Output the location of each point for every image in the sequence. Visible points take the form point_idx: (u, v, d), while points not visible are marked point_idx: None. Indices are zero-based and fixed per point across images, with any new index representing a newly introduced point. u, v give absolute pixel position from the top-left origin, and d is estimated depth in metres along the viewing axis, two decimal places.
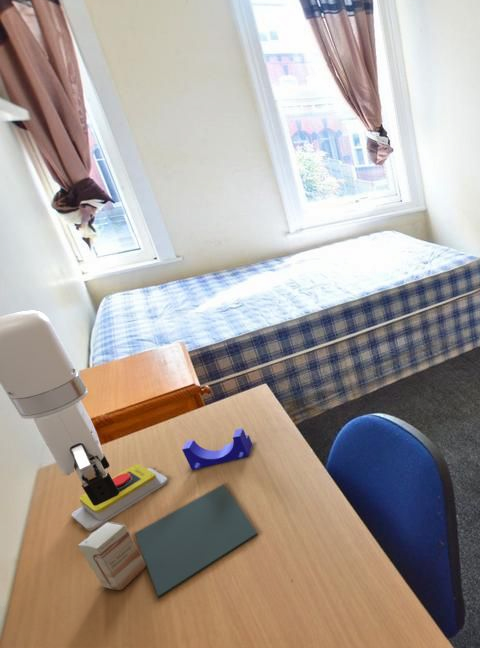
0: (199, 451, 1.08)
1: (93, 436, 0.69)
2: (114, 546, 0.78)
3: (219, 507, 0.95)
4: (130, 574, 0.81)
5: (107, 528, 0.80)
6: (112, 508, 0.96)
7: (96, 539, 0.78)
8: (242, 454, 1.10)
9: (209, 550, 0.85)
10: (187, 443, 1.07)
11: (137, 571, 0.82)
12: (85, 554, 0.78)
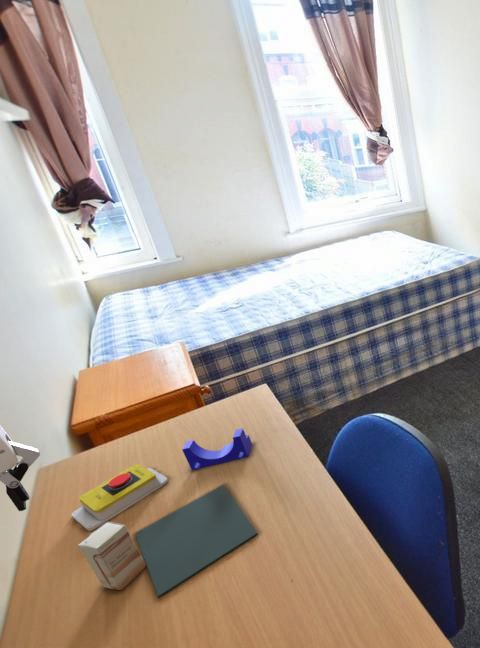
0: (199, 451, 1.08)
1: None
2: (114, 546, 0.78)
3: (219, 507, 0.95)
4: (130, 574, 0.81)
5: (107, 528, 0.80)
6: (112, 508, 0.96)
7: (96, 539, 0.78)
8: (242, 454, 1.10)
9: (209, 550, 0.85)
10: (187, 443, 1.07)
11: (137, 571, 0.82)
12: (85, 554, 0.78)
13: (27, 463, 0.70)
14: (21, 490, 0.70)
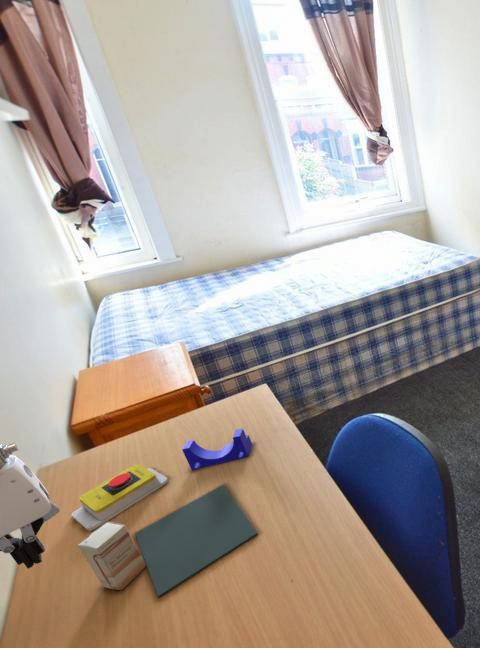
0: (199, 451, 1.08)
1: None
2: (114, 546, 0.78)
3: (219, 507, 0.95)
4: (130, 574, 0.81)
5: (107, 528, 0.80)
6: (112, 508, 0.96)
7: (96, 539, 0.78)
8: (242, 454, 1.10)
9: (209, 550, 0.85)
10: (187, 443, 1.07)
11: (137, 571, 0.82)
12: (85, 554, 0.78)
13: (44, 518, 0.72)
14: (37, 543, 0.72)
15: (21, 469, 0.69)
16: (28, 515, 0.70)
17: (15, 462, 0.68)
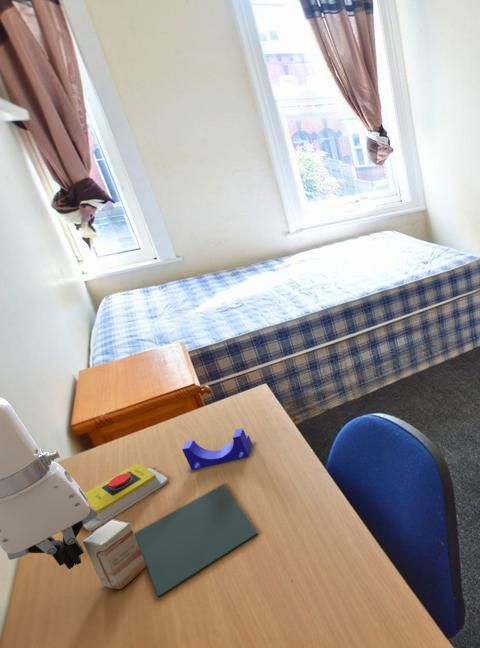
0: (199, 451, 1.08)
1: None
2: (117, 544, 0.79)
3: (219, 507, 0.95)
4: (130, 573, 0.81)
5: (112, 525, 0.80)
6: (112, 508, 0.96)
7: (101, 536, 0.78)
8: (242, 454, 1.10)
9: (209, 550, 0.85)
10: (187, 443, 1.07)
11: (137, 571, 0.82)
12: (88, 551, 0.78)
13: (83, 521, 0.76)
14: (76, 545, 0.76)
15: (63, 475, 0.72)
16: (69, 519, 0.73)
17: (57, 468, 0.72)
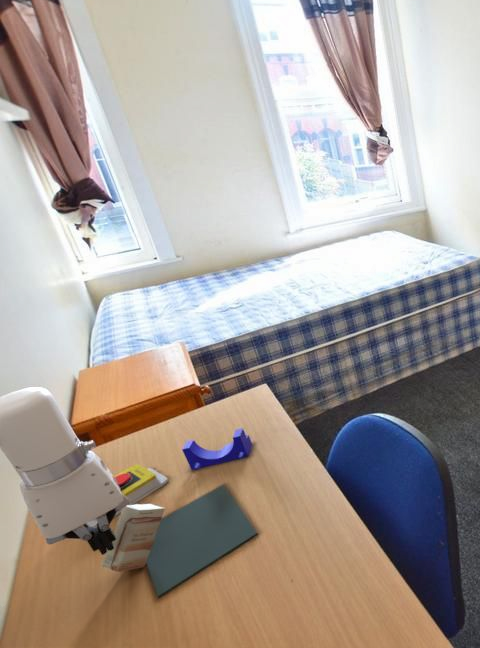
0: (199, 451, 1.08)
1: (39, 520, 0.71)
2: (147, 520, 0.84)
3: (219, 507, 0.95)
4: (133, 562, 0.82)
5: (149, 505, 0.86)
6: None
7: (140, 507, 0.84)
8: (242, 454, 1.10)
9: (209, 550, 0.85)
10: (187, 443, 1.07)
11: (138, 564, 0.83)
12: (121, 518, 0.83)
13: (116, 509, 0.79)
14: (110, 532, 0.79)
15: (99, 464, 0.75)
16: (104, 506, 0.76)
17: (94, 457, 0.75)
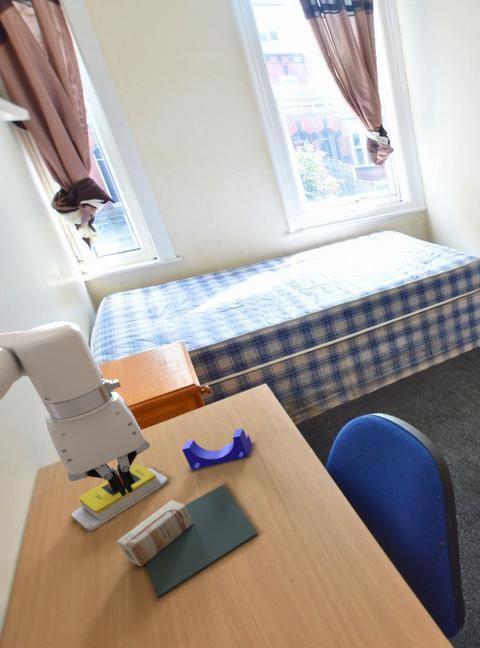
0: (199, 451, 1.08)
1: (64, 454, 0.71)
2: (180, 520, 0.89)
3: (219, 507, 0.95)
4: (143, 551, 0.83)
5: None
6: (112, 508, 0.96)
7: None
8: (242, 454, 1.10)
9: (209, 550, 0.85)
10: (187, 443, 1.07)
11: (141, 558, 0.83)
12: (163, 508, 0.89)
13: (137, 451, 0.79)
14: (130, 474, 0.79)
15: (123, 403, 0.76)
16: (126, 446, 0.77)
17: (118, 397, 0.76)
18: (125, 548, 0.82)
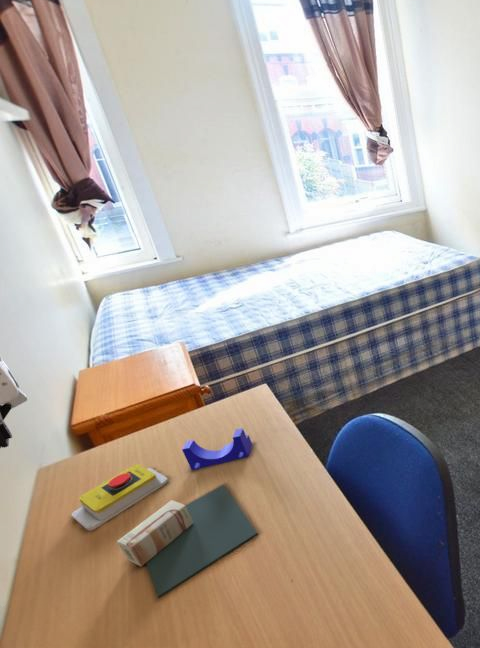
0: (199, 451, 1.08)
1: None
2: (180, 520, 0.89)
3: (219, 507, 0.95)
4: (143, 551, 0.83)
5: None
6: (112, 508, 0.96)
7: None
8: (242, 454, 1.10)
9: (209, 550, 0.85)
10: (187, 443, 1.07)
11: (141, 558, 0.83)
12: (163, 508, 0.89)
13: (12, 405, 0.76)
14: (4, 428, 0.76)
15: None
16: None
17: None
18: (125, 548, 0.82)
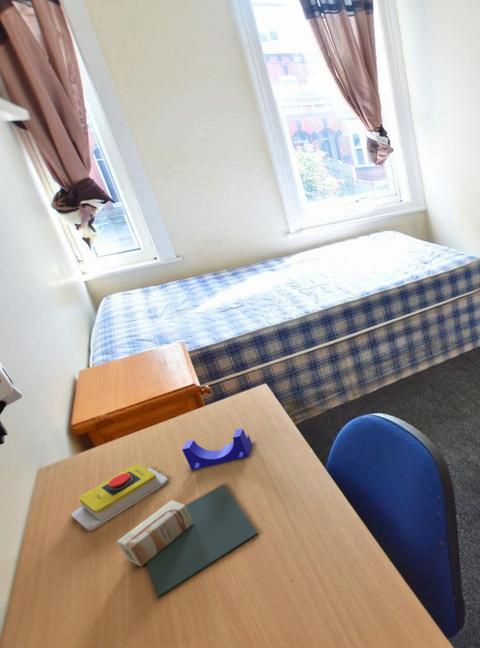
0: (199, 451, 1.08)
1: None
2: (180, 520, 0.89)
3: (219, 507, 0.95)
4: (143, 551, 0.83)
5: None
6: (112, 508, 0.96)
7: None
8: (242, 454, 1.10)
9: (209, 550, 0.85)
10: (187, 443, 1.07)
11: (141, 558, 0.83)
12: (163, 508, 0.89)
13: (7, 402, 0.76)
14: None
15: None
16: None
17: None
18: (125, 548, 0.82)
